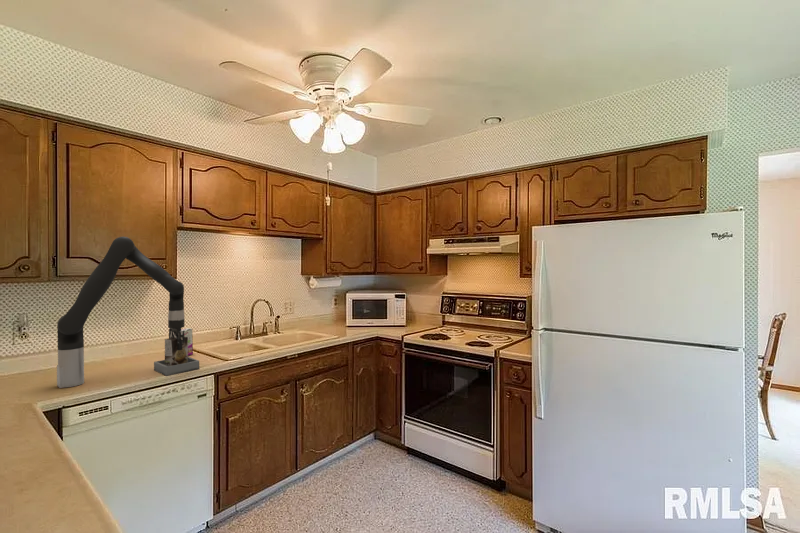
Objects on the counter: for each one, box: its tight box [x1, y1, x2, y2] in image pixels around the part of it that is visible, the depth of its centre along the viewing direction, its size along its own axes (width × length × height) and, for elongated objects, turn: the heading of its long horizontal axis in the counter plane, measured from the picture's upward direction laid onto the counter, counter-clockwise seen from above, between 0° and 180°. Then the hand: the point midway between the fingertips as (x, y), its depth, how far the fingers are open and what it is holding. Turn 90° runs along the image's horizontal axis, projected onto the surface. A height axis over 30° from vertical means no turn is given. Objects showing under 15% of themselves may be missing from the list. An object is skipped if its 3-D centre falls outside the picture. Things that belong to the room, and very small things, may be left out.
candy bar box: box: [181, 327, 194, 357], centre depth 229 cm, size 11×5×16 cm, turn 171°
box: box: [153, 356, 200, 377], centre depth 201 cm, size 16×17×4 cm
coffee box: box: [164, 337, 189, 366], centre depth 200 cm, size 9×6×16 cm
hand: (176, 348), depth 200 cm, fingers open, 8 cm apart
